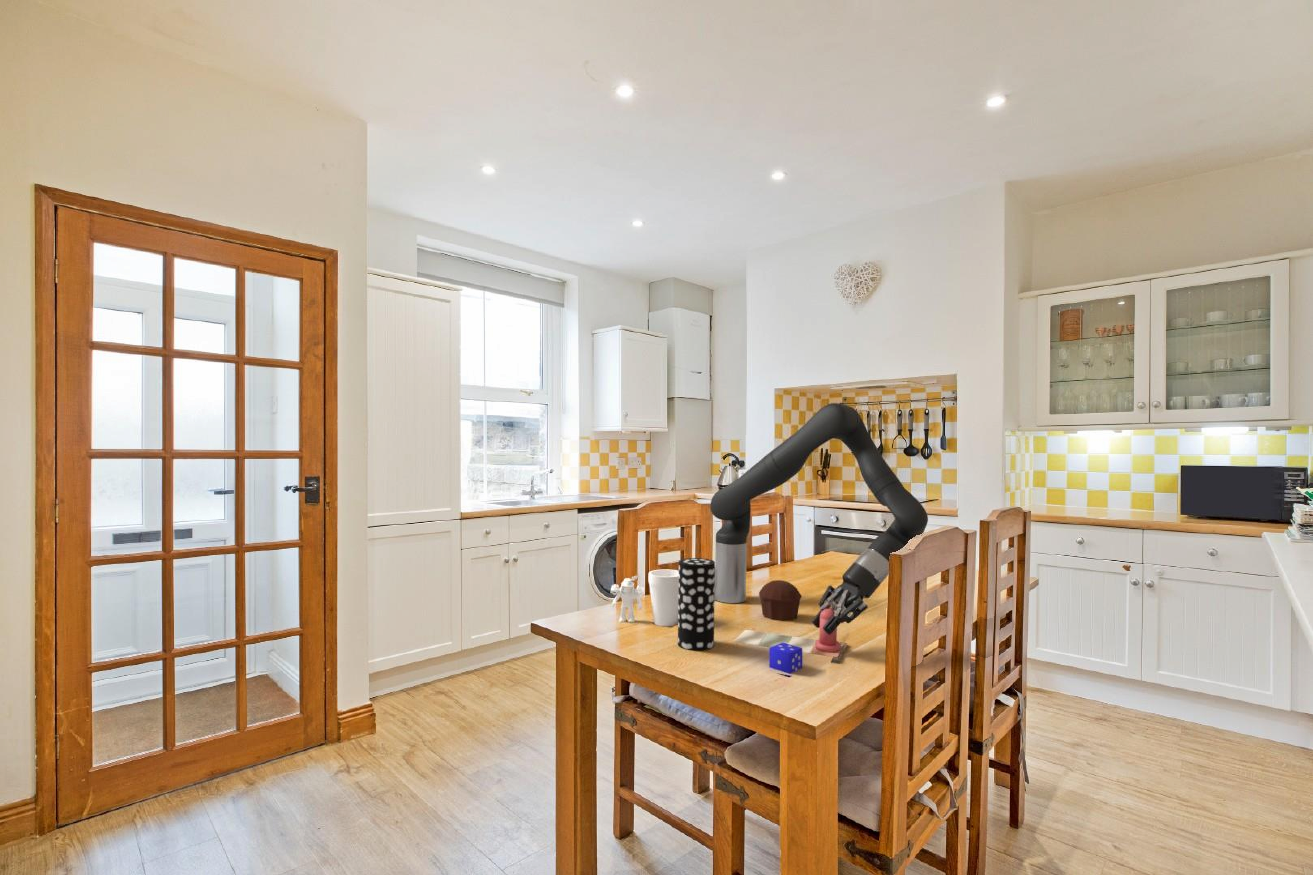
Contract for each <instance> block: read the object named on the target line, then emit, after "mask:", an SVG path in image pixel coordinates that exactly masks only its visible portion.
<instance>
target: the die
mask: <svg viewBox="0 0 1313 875" xmlns="http://www.w3.org/2000/svg"><path fill="white" fill-rule="evenodd" d="M768 648H769V651H768V652H769V653H768V654H769V660H768V661H769V663H768V666H769V668H770V669H772V670H776V671H778V672H779V671H780V672H783V673H777V672H776V675H777V674H778V675H779V676H783V677H786V678H791V677H792V675H790V674H792V673H794V672H796V671H799V670H800V669H803V652H802V648H800V647H797V646H793V645H790V644H788V643H787V644H786V643H780V644H778V645H775V646H773V647H768ZM784 673H785V674H784ZM788 674H789V675H788Z"/></svg>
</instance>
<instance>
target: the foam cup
mask: <svg viewBox="0 0 1313 875" xmlns="http://www.w3.org/2000/svg"><path fill="white" fill-rule="evenodd" d="M648 584H649V592H650V600H651V610H652V617H653V619H652V620H653V624H654V625H656V626H660V627H673V626H677V625H678V589H679V569H678V570H677V569H668V568H667V569H664V568H663V569H655V570H650V571H649V572H648Z"/></svg>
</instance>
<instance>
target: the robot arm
mask: <svg viewBox="0 0 1313 875" xmlns="http://www.w3.org/2000/svg"><path fill="white" fill-rule="evenodd" d="M833 439H834V440H839V441H841V442H842V443H843V444H844V445H845V446H846V447H847V448H848V449H849V450H850V452H852V454H853V456H854V458H855V460H856V462H857V464H858V468H859V470H860V473H861V477H862V479H863V481H864V482H865V484H866V485H867V488H869V490H870V492H871V493H872V495H873V496H874V497H875V499H876V501H877V502H878V503H879V504H880V505H881V506H883V507H886V508H887V509H888V511H889V512H890V513H891V514H892V516H893V517H894V520H893V522H891V524H890V525H889V526H888V527H887V529H885V531H884V532H882V533H880V534H879V535H878V536H877V537H876V538H874V540H873V541H872V542H871V543H870V545H869V546H868V547H867V548H866V549H865V550H864V551H863V552H862V553H860V554H859V555H858V557H857V558H856V559H855V560H854V561H853V562H852V564H851V565H850V566H849V568H847V569H846V571H845V572H844V573H843V575H842V582H841V584H840V585H838V586H837V587H834V586H832V585H828V586H827V587H826V590H825V592H823V595H822V597H820V600H819V601H818V603H817V604H818V606H819V607H820V610H819V611H818V613H817V614H816V615H815V616H814V617H813V618H812V619H811V623H812V625H813V626H814V627H815V628H817V629H820V614H821V612H822V611H823V610H825V609H831V610H833V611H834V612H835V614H834V616H835V617H834V616H832V617H831V618H830V619H829V620H828V622H827V623H826V624H825V625H824V626H823V630H824V631H825V632H826V633H827V634H829V635H830V634H831V633H832V632H833V631H834V630H835V629H836V628H837V629H838V627H839V626H840V625H841V624H844V623H846V624H851V623H852V622H853V621H854V620H855V619H856V618H857V617H859V616H860V615H861V614H862V613H864V612H865V611H866V610H867V609H868V608H869V606H868V605H867V603H866V602H865V601H864V599H869V598H871V596H872V595H873V594H874V593H875V592H876V591H877V589H878V588H879V587H880V586H881V584H882V583H883V582H884V581H885V580H886V578H887V577H888V576H889V574H890V572H889V556H890V553H892V552H896V551H898V550H900V549H901V548H903V547H904V546H905V545H906V544H907V543H908V541H909V540H910V539H912V538H913V537H915V536H916V535H920V534H922V533H923V534H924V532H925V530H926V528H927V525H928V522H929V516H928V515H929V514H928V512H927V511H926V509H925V507H924V505H923V504H922V503H921V502H920V500H918V499H917V498H916V497H915V496H914V495H913V494H912V493H911V492H910V491H909V490H907V489H906V487H905V486H904V485H903V483H902V481H901V480H900V479H899V477H898V476H897V475H896V474H895V472H894V470H892V469H891V467H890V465H889V464H888V462H887V461H886V460H885V458H884V457H883V455H882V454H881V452H880V451H879V449H878V447H877V446H876V444H875V442H874V440H873V439H872V437H871V436H870V433H869V431H868V429H867V426H866V425H865V423H864V420H863V419H862V417H861V415H860V414H859V412H858V410H856V408H854V407H851V406H850V405H845V404H842V403H837V402H835V403H834V402H832V403H828V404H825V405H824V406H822V407H821V408H820V409H819V410H817V412H816V413H814V414H813V415H812V416H811V417H810V418H809V419H808V420H807V421H806V423H804V424H803V425H802V426H801V427H800V428H799V429H798V430H797V431H796V432H794V433H793V434H791V436H789V437H788V438H786V439H785V440H784V441H783V442H781V443H780V444H779V445H778V446H776V447H775V448H773V449H772V450H771V451H770V452H769V453H767V454H766V455H764V457H762V458H761V459H759V461H757V462H756V463H755V464H754V465H753V466H751V467H750V468H749V469H747V471H746V472H744V473H743V474H742V475H741V476H740V477H738V478H737V479H735V480H734V481H732V482H731V483H729V484H727V485H725V486H724V487H722V488H721V489H719V490H718V491H717V492H715V493H714V494H713V496H712V498H711V500H710V512H711V514H712V515H713V516H714V517H715V518H717V519H718V520H721V521H723V524H722V525H721V527H720V529H719V530H717V531H716V534H715V595H714V601H718V602H719V603H724V604H738V603H744V602H746V600H747V552H748V551H747V547H748V546H747V541H748V539H747V538H748V536H749V533H750V529H751V527H750V526H751V512H752V511H751V506H752V505H751V504H752V503H751V500H753V499H755V498H756V497H758V496H761V495H763V494H765V493H766V494H767V493H768V492H771V491H772V490H774V489H776V488H778V487H780V486H782V485H784V484H785V483H787V481H789V480H790V479H791V478H793V477H794V476H796V475H797V474H798V473H799V472H800V471H801V470H802V469H803V467H804V465H805V464H806V462H807V460H808V458H809V457H810V455H811V454H812V453H813V452H814V451H815V450H816V449H818V448H819V447H821V446H822V445H824V444H826V443H827V442H829V441H830V440H833ZM923 534H922V535H923Z"/></svg>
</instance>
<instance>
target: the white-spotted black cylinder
mask: <svg viewBox="0 0 1313 875" xmlns="http://www.w3.org/2000/svg"><path fill="white" fill-rule="evenodd" d="M678 571H679V589H678V624H677V646H678V648H681V649H683V650H686V651H690V652H691V651H693V652H702V651H703V652H704V651H708V650H711V649H713V648H714V646H715V600H714V595H715V561H714V560H712V559H709V558H701V557H689V558H682V559H680V560H678Z"/></svg>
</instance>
